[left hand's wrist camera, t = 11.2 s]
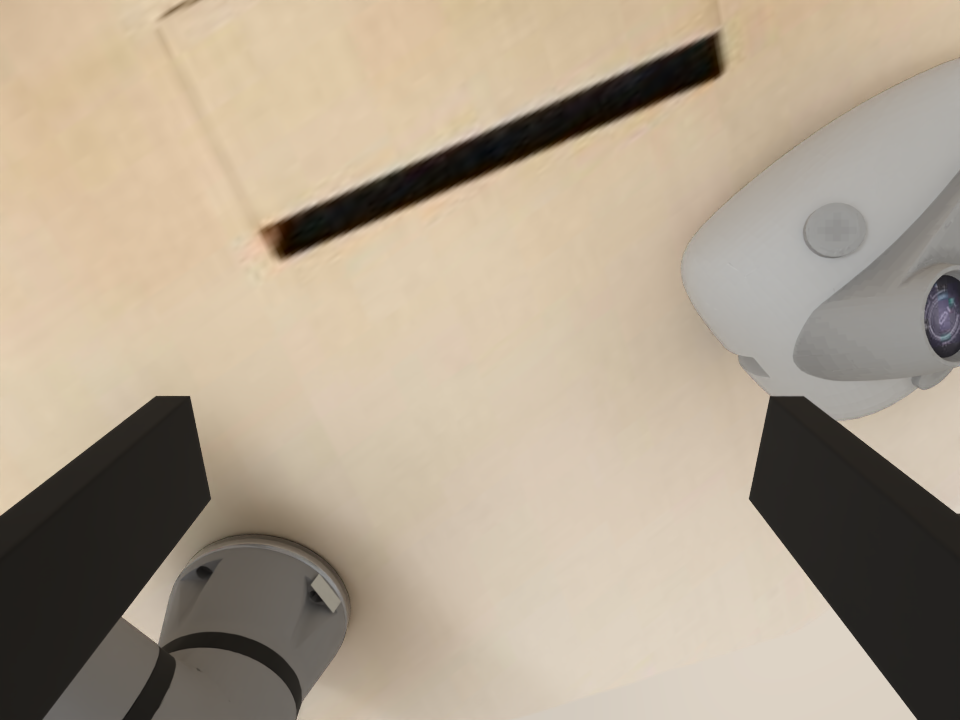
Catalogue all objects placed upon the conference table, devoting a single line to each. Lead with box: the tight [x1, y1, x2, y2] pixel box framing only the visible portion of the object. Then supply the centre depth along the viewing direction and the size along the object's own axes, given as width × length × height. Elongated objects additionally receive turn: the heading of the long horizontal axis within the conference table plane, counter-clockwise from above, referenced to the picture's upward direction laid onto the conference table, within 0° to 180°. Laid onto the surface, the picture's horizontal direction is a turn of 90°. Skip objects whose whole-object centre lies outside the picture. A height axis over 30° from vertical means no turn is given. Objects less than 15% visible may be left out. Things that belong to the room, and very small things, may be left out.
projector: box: [681, 57, 960, 421], centre depth 32 cm, size 22×23×15 cm
